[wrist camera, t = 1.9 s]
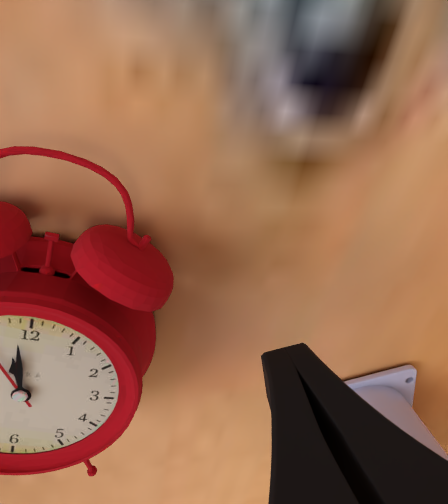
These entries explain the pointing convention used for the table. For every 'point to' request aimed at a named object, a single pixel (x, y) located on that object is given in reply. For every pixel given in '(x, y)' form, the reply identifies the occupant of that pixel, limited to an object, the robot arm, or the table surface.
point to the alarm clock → (73, 334)
